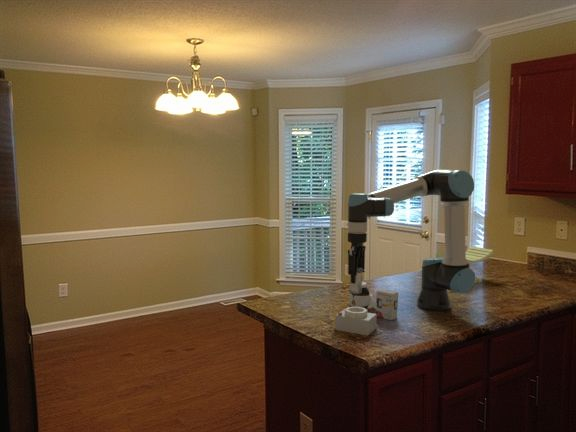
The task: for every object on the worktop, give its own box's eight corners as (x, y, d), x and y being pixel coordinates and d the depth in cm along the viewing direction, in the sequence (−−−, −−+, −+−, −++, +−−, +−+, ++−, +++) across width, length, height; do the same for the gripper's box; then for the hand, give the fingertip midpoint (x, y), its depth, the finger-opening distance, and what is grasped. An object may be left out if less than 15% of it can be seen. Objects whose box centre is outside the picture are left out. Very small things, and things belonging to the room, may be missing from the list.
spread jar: (346, 305, 232) (346, 281, 231) (366, 302, 237) (367, 279, 236) (359, 312, 222) (360, 287, 220) (380, 309, 226) (381, 285, 225)
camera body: (376, 328, 200) (376, 309, 199) (367, 335, 192) (368, 315, 191) (344, 322, 207) (344, 304, 206) (334, 329, 198) (335, 310, 198)
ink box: (374, 316, 215) (375, 290, 214) (380, 314, 219) (381, 288, 218) (392, 320, 210) (393, 294, 209) (397, 318, 214) (398, 291, 212)
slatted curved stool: (468, 274, 299) (470, 245, 297) (491, 280, 286) (493, 249, 284) (434, 280, 283) (436, 250, 281) (457, 286, 270) (459, 254, 268)
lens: (363, 291, 199) (364, 267, 198) (359, 294, 195) (359, 269, 194) (352, 290, 201) (353, 266, 200) (348, 292, 197) (348, 268, 196)
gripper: (356, 229, 205) (355, 283, 207) (339, 234, 190) (338, 293, 192) (373, 230, 201) (372, 286, 203) (358, 235, 186) (356, 295, 188)
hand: (356, 289), depth 198 cm, fingers closed on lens, 4 cm apart
